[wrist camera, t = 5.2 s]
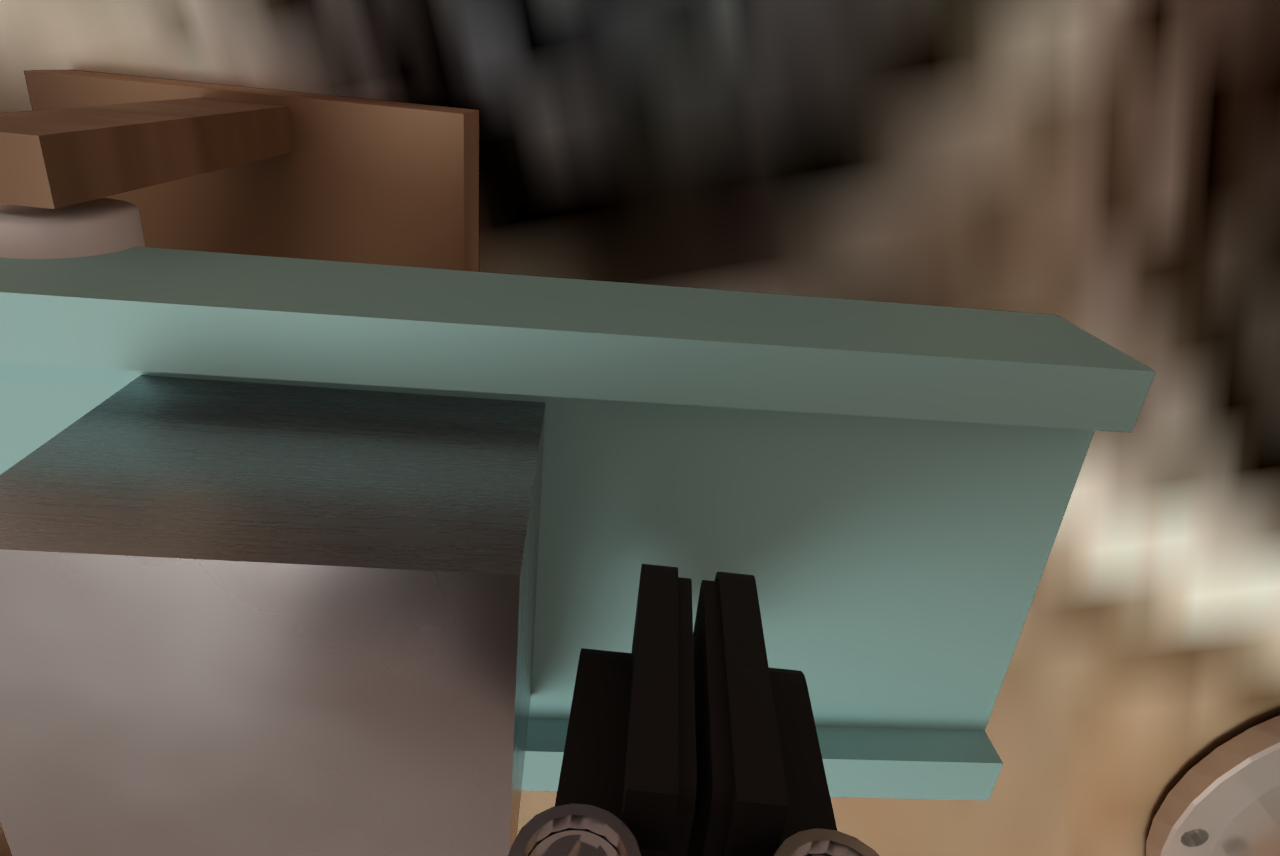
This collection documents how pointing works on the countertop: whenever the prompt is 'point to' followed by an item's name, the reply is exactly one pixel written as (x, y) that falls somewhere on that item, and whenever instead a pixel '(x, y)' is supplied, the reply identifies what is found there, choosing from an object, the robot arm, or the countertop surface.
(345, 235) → the stand
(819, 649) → the beam
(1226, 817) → the robot arm
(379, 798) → the block
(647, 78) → the countertop surface
